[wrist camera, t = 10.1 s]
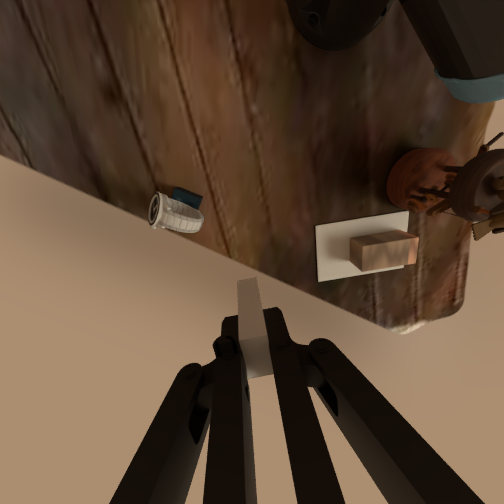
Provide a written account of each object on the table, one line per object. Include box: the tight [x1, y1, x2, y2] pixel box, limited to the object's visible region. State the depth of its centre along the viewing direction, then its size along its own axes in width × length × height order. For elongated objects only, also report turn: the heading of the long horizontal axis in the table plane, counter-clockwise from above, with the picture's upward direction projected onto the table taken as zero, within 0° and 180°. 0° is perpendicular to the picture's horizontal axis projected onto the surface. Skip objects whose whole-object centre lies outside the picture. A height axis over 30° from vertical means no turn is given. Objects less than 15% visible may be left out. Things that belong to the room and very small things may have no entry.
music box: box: [387, 132, 504, 241], centre depth 33 cm, size 15×11×20 cm
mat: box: [315, 211, 409, 282], centre depth 46 cm, size 12×18×1 cm, turn 98°
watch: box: [148, 187, 204, 233], centre depth 36 cm, size 6×8×11 cm
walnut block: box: [350, 230, 419, 272], centre depth 44 cm, size 5×5×10 cm
